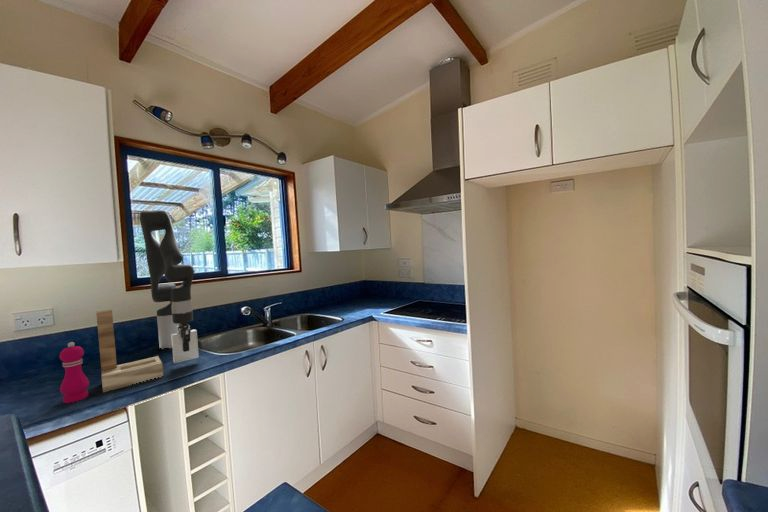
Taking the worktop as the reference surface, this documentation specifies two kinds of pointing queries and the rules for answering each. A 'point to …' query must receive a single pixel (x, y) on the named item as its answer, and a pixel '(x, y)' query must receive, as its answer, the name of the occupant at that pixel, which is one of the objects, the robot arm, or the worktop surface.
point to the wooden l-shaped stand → (123, 373)
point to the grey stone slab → (178, 347)
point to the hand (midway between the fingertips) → (185, 350)
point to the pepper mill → (73, 374)
